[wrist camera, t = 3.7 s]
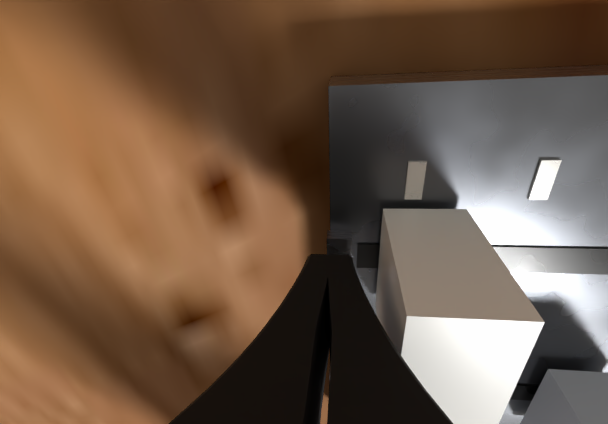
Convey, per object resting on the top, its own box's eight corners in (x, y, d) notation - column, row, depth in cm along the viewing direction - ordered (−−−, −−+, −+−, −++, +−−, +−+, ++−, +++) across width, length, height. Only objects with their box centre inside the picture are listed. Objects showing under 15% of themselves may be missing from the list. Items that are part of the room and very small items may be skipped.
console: (332, 403, 19) (331, 452, 17) (327, 76, 10) (323, 88, 8) (575, 422, 17) (608, 478, 15) (819, 55, 9) (981, 64, 6)
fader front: (375, 304, 12) (390, 429, 8) (383, 208, 10) (406, 315, 6) (444, 307, 11) (492, 438, 8) (466, 209, 9) (544, 322, 6)
